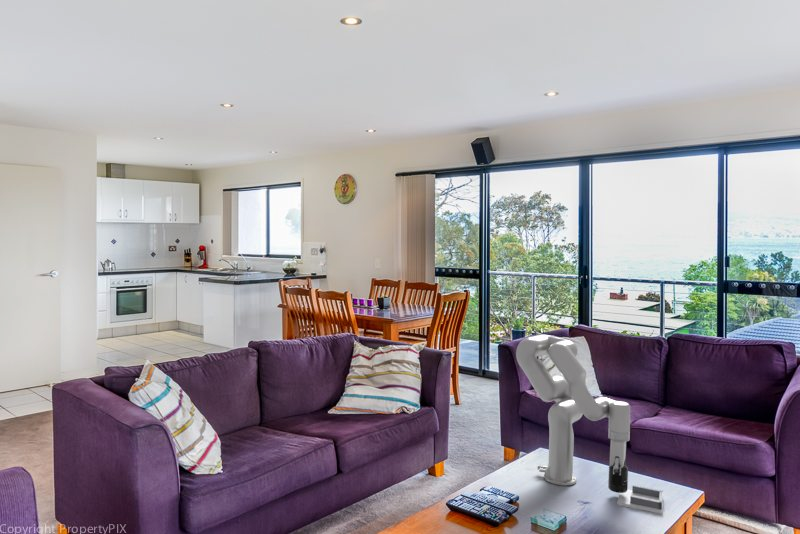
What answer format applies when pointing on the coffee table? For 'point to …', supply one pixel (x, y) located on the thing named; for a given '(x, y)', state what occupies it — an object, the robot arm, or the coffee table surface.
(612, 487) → the supplement bottle
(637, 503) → the cradle tray
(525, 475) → the coffee table surface
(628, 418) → the robot arm
